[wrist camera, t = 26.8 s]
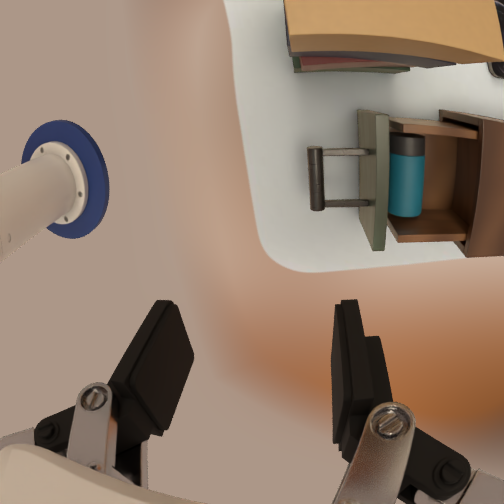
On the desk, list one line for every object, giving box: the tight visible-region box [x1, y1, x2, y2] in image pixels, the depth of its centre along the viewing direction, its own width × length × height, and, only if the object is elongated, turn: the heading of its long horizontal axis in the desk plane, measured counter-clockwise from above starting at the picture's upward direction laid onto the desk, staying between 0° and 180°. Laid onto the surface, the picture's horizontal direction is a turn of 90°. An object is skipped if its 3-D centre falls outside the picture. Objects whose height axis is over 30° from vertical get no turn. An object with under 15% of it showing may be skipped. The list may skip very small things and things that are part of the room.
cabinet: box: [439, 110, 504, 258], centre depth 24 cm, size 14×14×10 cm
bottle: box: [388, 132, 425, 217], centre depth 27 cm, size 8×4×4 cm
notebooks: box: [283, 0, 504, 74], centre depth 16 cm, size 11×9×20 cm
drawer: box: [307, 110, 479, 251], centre depth 26 cm, size 18×12×8 cm
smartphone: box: [488, 0, 504, 79], centre depth 17 cm, size 8×1×15 cm
